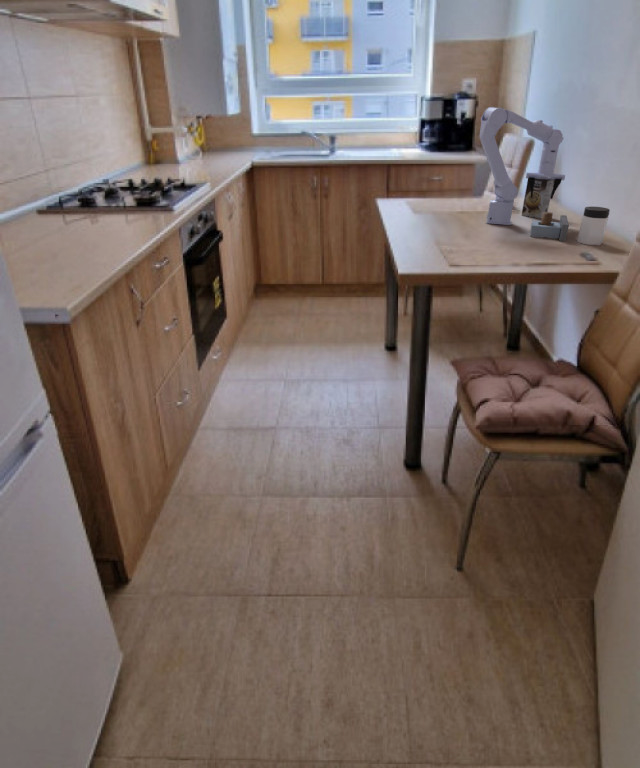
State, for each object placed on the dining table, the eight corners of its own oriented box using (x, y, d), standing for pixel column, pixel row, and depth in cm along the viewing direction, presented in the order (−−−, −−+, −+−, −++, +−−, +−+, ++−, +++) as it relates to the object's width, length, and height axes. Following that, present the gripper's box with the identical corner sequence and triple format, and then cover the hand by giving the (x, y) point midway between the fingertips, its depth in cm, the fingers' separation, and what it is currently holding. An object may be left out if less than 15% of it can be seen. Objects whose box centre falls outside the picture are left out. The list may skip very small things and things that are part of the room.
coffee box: (520, 215, 251) (527, 176, 243) (528, 213, 254) (535, 175, 247) (539, 218, 245) (547, 179, 237) (547, 217, 248) (555, 177, 241)
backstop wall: (559, 241, 209) (562, 224, 206) (557, 230, 224) (560, 215, 222) (565, 241, 209) (568, 224, 206) (563, 231, 224) (566, 215, 221)
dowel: (539, 235, 217) (542, 213, 214) (539, 233, 220) (542, 211, 217) (549, 236, 216) (553, 214, 213) (548, 233, 219) (552, 212, 216)
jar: (607, 244, 206) (616, 209, 201) (591, 246, 203) (599, 211, 197) (587, 238, 213) (595, 205, 208) (571, 240, 210) (579, 207, 204)
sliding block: (530, 236, 215) (532, 225, 213) (530, 230, 224) (532, 220, 222) (558, 238, 213) (560, 227, 211) (557, 233, 221) (559, 222, 219)
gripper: (528, 162, 225) (522, 198, 231) (568, 164, 221) (560, 200, 228) (528, 160, 231) (522, 195, 237) (567, 162, 227) (560, 197, 233)
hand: (541, 197), depth 233 cm, fingers open, 7 cm apart
